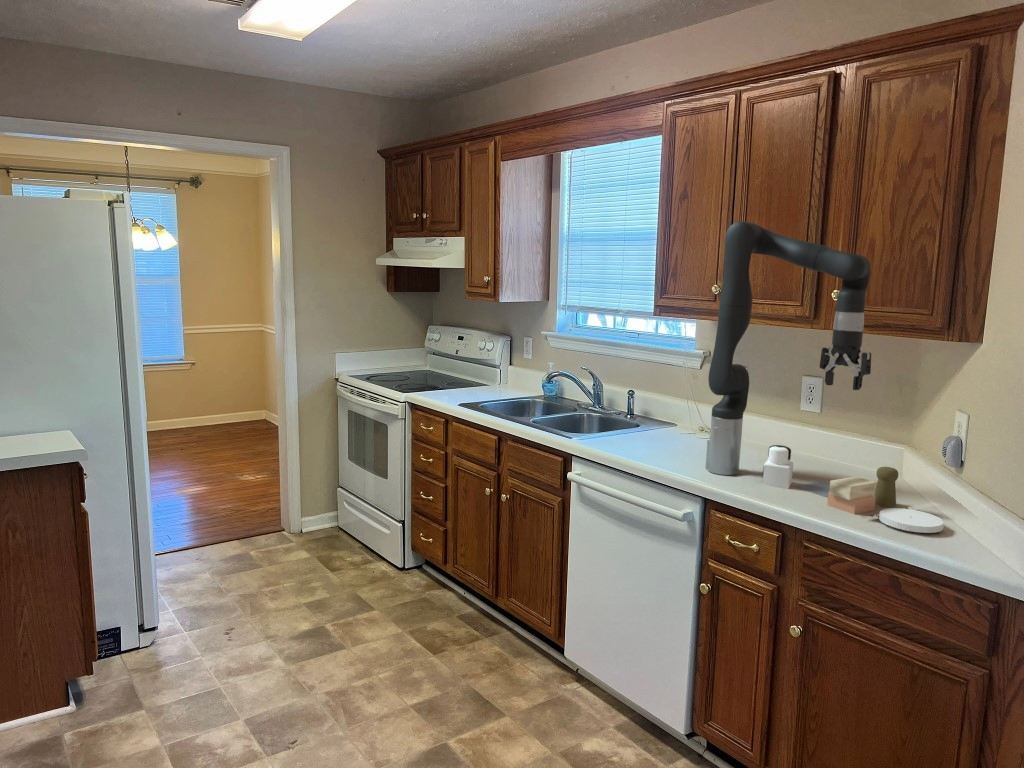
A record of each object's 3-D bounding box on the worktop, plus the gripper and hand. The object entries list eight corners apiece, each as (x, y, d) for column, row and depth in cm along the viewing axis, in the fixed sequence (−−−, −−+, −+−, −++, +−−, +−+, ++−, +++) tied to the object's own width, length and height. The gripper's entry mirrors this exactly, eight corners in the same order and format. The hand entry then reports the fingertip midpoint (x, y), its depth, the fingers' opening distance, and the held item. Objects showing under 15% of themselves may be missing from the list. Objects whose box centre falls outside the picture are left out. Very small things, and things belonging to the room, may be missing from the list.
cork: (888, 504, 201) (893, 464, 199) (901, 511, 195) (905, 470, 193) (866, 504, 201) (870, 464, 199) (878, 511, 195) (882, 470, 193)
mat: (792, 489, 212) (793, 486, 212) (821, 484, 218) (821, 481, 218) (828, 501, 202) (829, 498, 202) (857, 496, 208) (857, 492, 208)
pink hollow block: (826, 508, 196) (828, 492, 195) (846, 504, 200) (848, 488, 199) (853, 517, 189) (855, 500, 188) (873, 513, 193) (875, 496, 192)
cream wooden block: (829, 493, 194) (830, 480, 193) (854, 489, 199) (855, 476, 198) (849, 500, 189) (850, 486, 188) (874, 495, 193) (875, 482, 193)
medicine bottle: (765, 482, 220) (769, 442, 218) (791, 486, 216) (795, 445, 215) (761, 488, 213) (765, 447, 212) (788, 492, 210) (791, 450, 208)
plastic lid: (882, 532, 180) (883, 521, 179) (875, 514, 193) (876, 505, 193) (948, 540, 175) (949, 530, 175) (936, 522, 188) (937, 512, 188)
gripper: (816, 326, 208) (811, 384, 210) (862, 331, 195) (856, 392, 198) (834, 326, 211) (829, 383, 214) (880, 330, 199) (874, 390, 201)
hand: (842, 387), depth 206 cm, fingers open, 8 cm apart
